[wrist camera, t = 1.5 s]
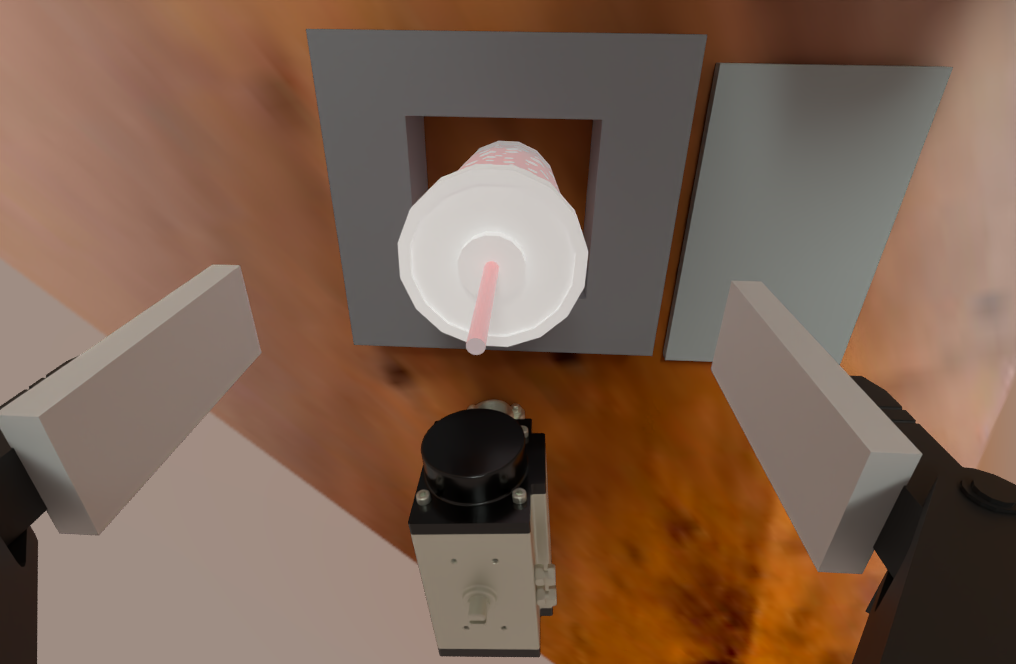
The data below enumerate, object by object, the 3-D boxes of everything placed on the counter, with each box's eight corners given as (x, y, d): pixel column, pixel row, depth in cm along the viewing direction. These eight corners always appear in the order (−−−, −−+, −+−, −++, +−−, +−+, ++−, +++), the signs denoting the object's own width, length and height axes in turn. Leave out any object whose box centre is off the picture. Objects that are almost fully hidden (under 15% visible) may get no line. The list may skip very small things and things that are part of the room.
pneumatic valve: (469, 498, 35) (439, 699, 24) (445, 345, 29) (393, 520, 19) (554, 497, 34) (560, 701, 24) (547, 341, 29) (552, 519, 18)
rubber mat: (715, 62, 22) (720, 63, 21) (943, 66, 21) (952, 67, 21) (662, 353, 29) (665, 359, 28) (833, 360, 28) (839, 366, 28)
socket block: (338, 29, 22) (305, 28, 19) (683, 34, 21) (707, 34, 18) (373, 311, 28) (353, 344, 25) (639, 320, 28) (652, 355, 25)
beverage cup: (487, 275, 27) (445, 476, 15) (415, 169, 24) (292, 305, 12) (596, 213, 25) (650, 385, 13) (529, 93, 23) (518, 164, 10)
